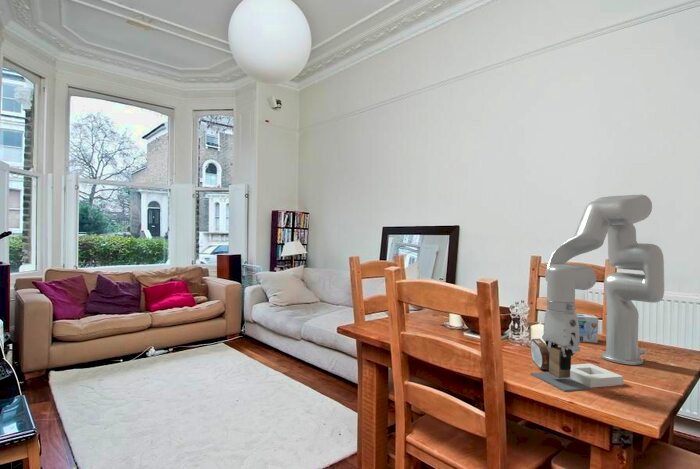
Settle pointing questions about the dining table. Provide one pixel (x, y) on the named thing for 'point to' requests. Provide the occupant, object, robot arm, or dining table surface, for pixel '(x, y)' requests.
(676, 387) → the dining table surface
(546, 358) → the tin
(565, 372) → the block
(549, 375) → the mat
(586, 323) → the light bulb box
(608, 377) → the holder
